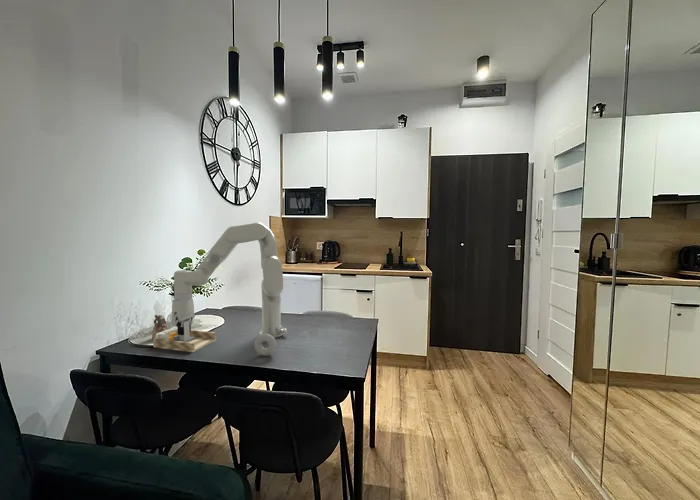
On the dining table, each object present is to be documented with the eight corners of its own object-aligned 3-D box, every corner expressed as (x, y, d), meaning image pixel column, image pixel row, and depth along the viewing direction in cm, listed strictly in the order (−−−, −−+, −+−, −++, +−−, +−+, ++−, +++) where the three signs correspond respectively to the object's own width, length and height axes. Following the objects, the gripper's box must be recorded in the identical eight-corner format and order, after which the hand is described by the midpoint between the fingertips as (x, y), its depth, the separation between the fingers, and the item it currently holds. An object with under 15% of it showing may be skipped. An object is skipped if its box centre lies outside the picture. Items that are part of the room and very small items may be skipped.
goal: (187, 336, 164) (187, 324, 164) (165, 345, 150) (165, 333, 150) (178, 334, 165) (178, 323, 165) (156, 344, 152) (155, 332, 151)
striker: (194, 338, 159) (194, 319, 159) (182, 344, 152) (182, 323, 151) (185, 337, 161) (185, 318, 160) (173, 343, 153) (172, 322, 152)
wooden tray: (216, 340, 161) (215, 332, 161) (193, 352, 146) (192, 343, 145) (179, 336, 166) (179, 328, 166) (153, 347, 151) (153, 338, 151)
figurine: (161, 341, 159) (160, 317, 158) (148, 339, 161) (148, 316, 160) (171, 336, 166) (171, 313, 165) (159, 335, 168) (159, 312, 167)
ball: (171, 331, 160) (173, 339, 160) (165, 334, 156) (167, 342, 156) (178, 330, 159) (180, 338, 159) (172, 332, 155) (173, 340, 155)
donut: (253, 356, 142) (252, 334, 141) (255, 353, 145) (255, 332, 144) (275, 357, 141) (275, 335, 140) (277, 354, 145) (277, 332, 144)
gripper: (189, 292, 163) (190, 327, 165) (162, 299, 147) (164, 338, 149) (201, 293, 162) (202, 328, 163) (176, 300, 146) (177, 339, 147)
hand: (184, 333), depth 156 cm, fingers closed on striker, 3 cm apart
